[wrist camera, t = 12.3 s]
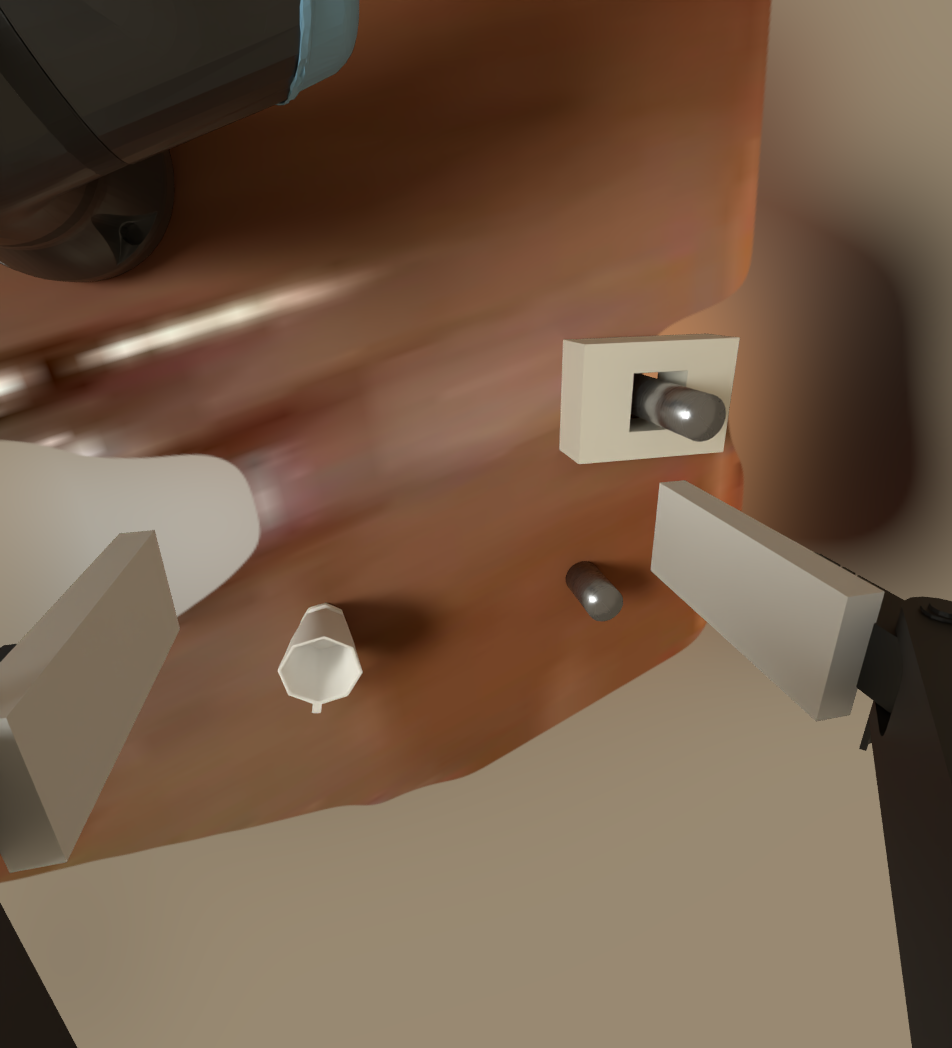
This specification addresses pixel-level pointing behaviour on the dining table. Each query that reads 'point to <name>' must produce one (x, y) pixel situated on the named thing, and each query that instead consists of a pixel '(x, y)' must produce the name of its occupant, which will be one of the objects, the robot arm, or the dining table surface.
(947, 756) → the robot arm
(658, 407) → the long pin
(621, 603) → the short pin
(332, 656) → the cup
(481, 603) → the dining table surface
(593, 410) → the hole block
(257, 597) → the dining table surface
